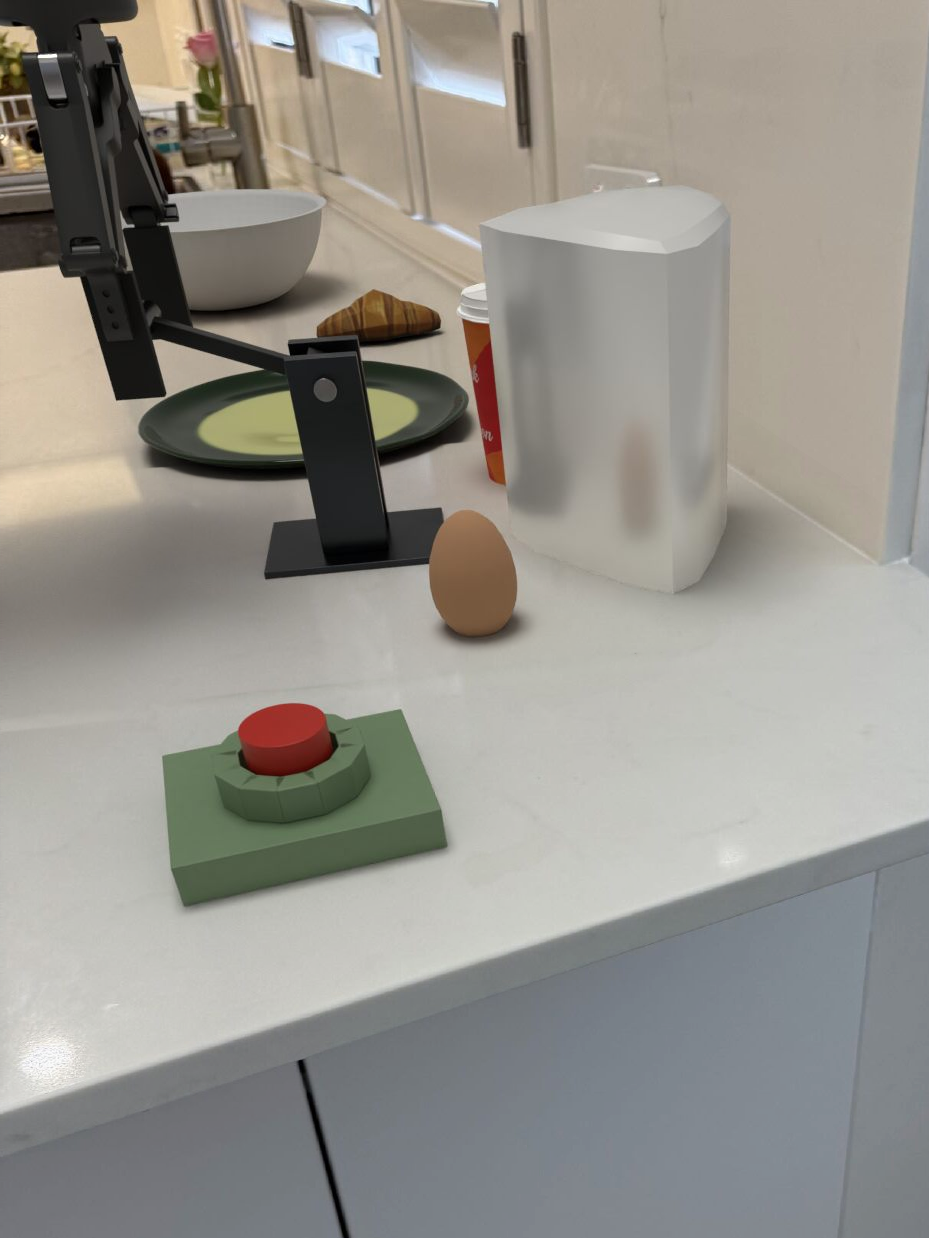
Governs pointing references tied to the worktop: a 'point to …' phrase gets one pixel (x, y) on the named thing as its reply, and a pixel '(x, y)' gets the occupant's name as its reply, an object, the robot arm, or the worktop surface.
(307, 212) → the bowl
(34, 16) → the robot arm
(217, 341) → the lever
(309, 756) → the button
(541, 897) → the worktop surface
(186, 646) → the worktop surface
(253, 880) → the control block
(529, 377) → the frosted triangular prism
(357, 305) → the croissant
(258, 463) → the plate
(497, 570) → the egg
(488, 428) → the paper cup
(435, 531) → the bracket
